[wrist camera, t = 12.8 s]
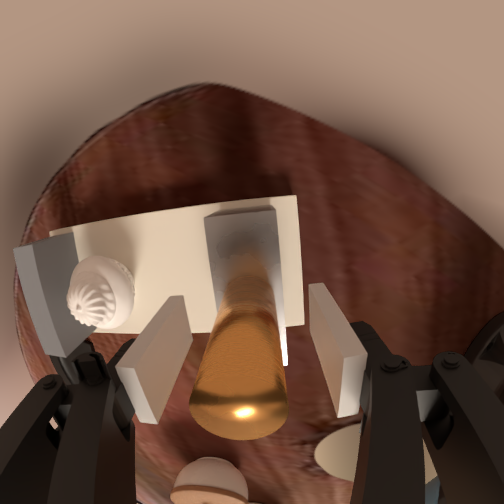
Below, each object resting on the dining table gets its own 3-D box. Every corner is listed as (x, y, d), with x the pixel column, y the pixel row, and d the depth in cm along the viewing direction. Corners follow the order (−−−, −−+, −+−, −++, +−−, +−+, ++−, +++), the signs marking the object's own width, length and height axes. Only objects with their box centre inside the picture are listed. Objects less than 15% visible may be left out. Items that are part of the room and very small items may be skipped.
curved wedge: (74, 402, 30) (70, 408, 29) (48, 327, 27) (41, 332, 26) (119, 417, 30) (115, 424, 29) (95, 339, 27) (89, 346, 26)
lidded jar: (169, 447, 31) (153, 496, 22) (240, 446, 30) (236, 501, 21) (194, 480, 33) (185, 522, 24) (256, 479, 32) (255, 525, 23)
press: (293, 195, 23) (310, 197, 15) (301, 314, 25) (316, 364, 17) (60, 228, 24) (9, 243, 16) (83, 323, 26) (44, 358, 19)
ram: (271, 204, 21) (300, 239, 6) (281, 324, 23) (302, 479, 8) (219, 209, 21) (131, 256, 6) (234, 328, 23) (208, 482, 8)
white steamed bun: (91, 243, 22) (43, 262, 15) (149, 251, 22) (108, 275, 15) (94, 304, 23) (54, 336, 17) (149, 316, 23) (116, 357, 17)
